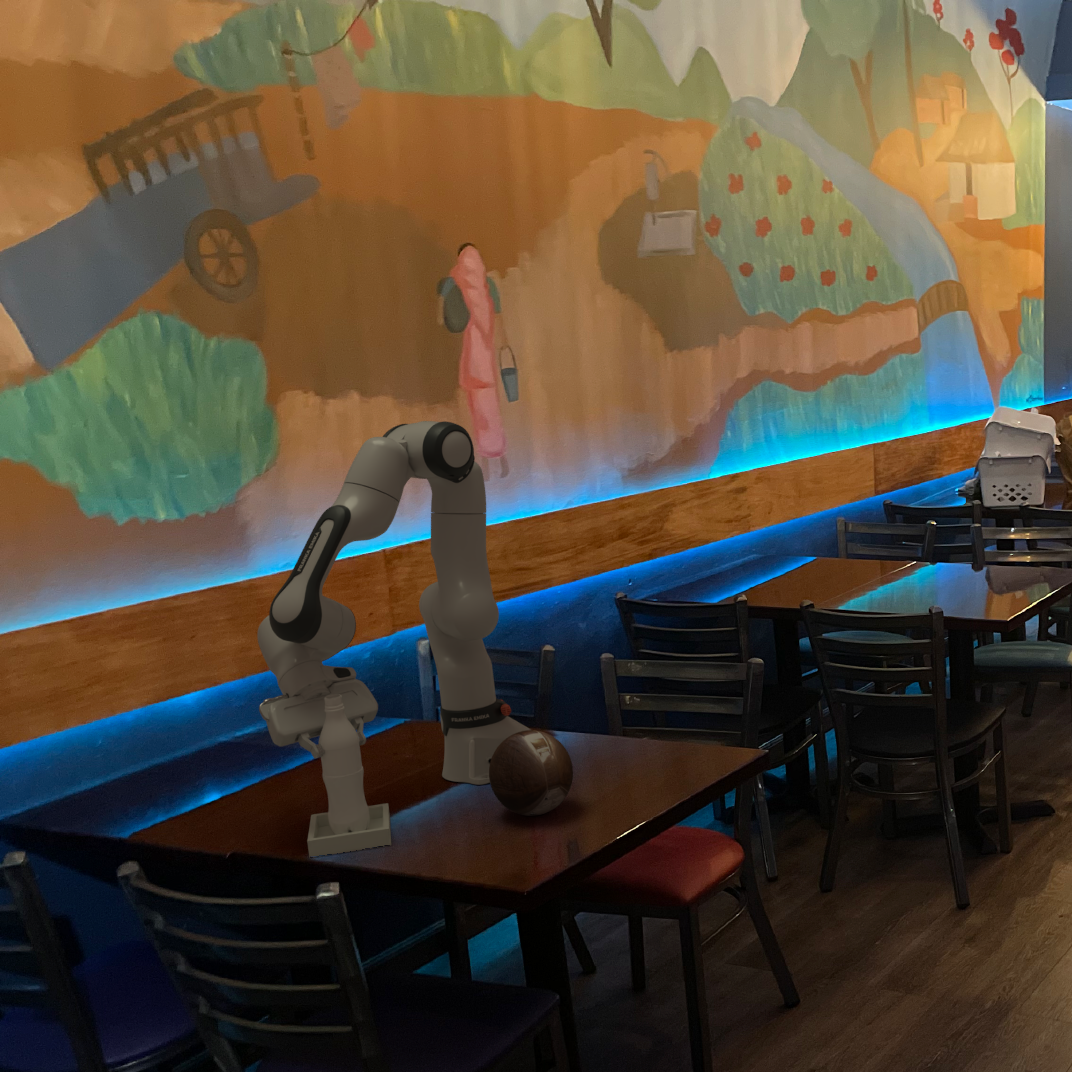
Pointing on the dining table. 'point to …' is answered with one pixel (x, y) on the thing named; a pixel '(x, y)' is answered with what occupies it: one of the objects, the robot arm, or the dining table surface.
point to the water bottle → (342, 770)
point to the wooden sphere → (530, 772)
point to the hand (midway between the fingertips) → (341, 749)
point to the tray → (329, 843)
